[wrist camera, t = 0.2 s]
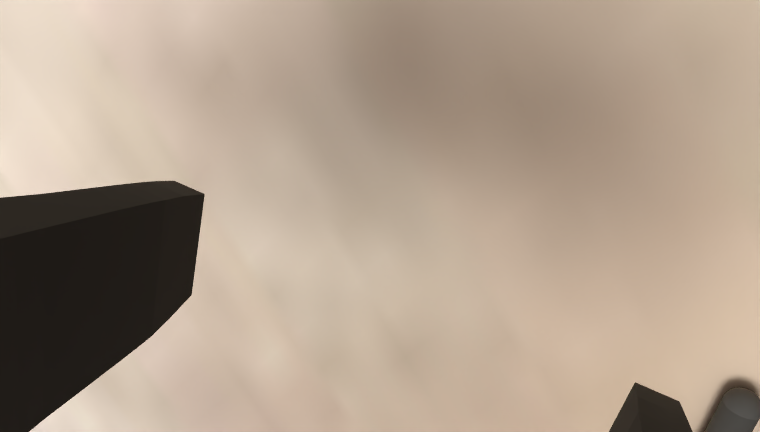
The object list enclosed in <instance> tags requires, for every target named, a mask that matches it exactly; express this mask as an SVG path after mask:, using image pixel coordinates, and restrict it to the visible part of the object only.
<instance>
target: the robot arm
mask: <svg viewBox="0 0 760 432" xmlns="http://www.w3.org/2000/svg"><path fill="white" fill-rule="evenodd" d="M203 202H204V194H203V193H201V192H199V191H196V190H194V189H192V188H189V187H187V186H185V185H182V184H180V183H178V182H176V181H154V182H141V183H131V184H122V185H113V186H105V187H96V188H88V189H80V190H71V191H63V192H55V193H46V194H37V195H26V196H15V197H4V198H0V432H29V431H30V430H32V429H33V428H34V427H35V426H36V425H38V424H39V423H40V422H41V421H42V420H44V419H45V418H46V417H48V416H49V415H50V414H51V413H53V412H54V411H55V410H57V409H58V408H59V407H61V406H62V405H63V404H65V403H66V402H67V401H68V400H70V399H71V398H72V397H74V396H75V395H76V394H78V393H79V392H80V391H82V390H83V389H84V388H85V387H87V386H88V385H89V384H91V383H92V382H93V381H95V380H96V379H97V378H99V377H100V376H101V375H102V374H104V373H105V372H106V371H108V370H109V369H110V368H112V367H113V366H114V365H115V364H117V363H118V362H119V361H121V360H122V359H123V358H124V357H126V356H127V355H128V354H130V353H131V352H132V351H133V350H135V349H136V348H137V347H139V346H140V345H141V344H142V343H144V342H145V341H146V340H147V339H148V338H150V337H151V336H152V335H153V334H154V333H155V332H156V331H157V330H158V329H159V328H160V327H161V326H162V325H163V324H164V323H165V322H166V321H167V320H168V319H169V318H170V317H171V316H172V315H173V314H174V313H175V312H176V311H177V310H178V309H179V308H180V307H181V306H182V304H183V303H184V302H185V301H186V300H187V299H188V298H189V297H190V296H191V295H192V287H193V279H194V272H195V264H196V256H197V249H198V241H199V233H200V225H201V218H202V210H203ZM609 432H692V429H691V427H690V425H689V422H688V420H687V418H686V416H685V413H684V411H683V409H682V406H681V404H680V402H679V401H677V400H674V399H672V398H670V397H668V396H665V395H663V394H661V393H658V392H656V391H654V390H652V389H649V388H647V387H645V386H642V385H640V384H638V383H636V382H635V384H634V386H633V387H632V389H631V391H630V393H629V395H628V397H627V399H626V401H625V402H624V404H623V406H622V408H621V410H620V412H619V414H618V416H617V418H616V419H615V421H614V423H613V425H612V427H611V429H610V431H609Z"/></svg>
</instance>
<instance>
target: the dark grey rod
mask: <svg viewBox="0 0 760 432" xmlns="http://www.w3.org/2000/svg"><path fill="white" fill-rule="evenodd" d="M759 419H760V399H759V397H758V396H757V395H756V394H755V393H754V392H752V391H751V390H749V389H746V388H733V389H731V390H729V391H727V392H726V393H725V394H724V396H723V397H722V399H721V401H720V403H719V405H718V407H717V409H716V411H715V413H714V415H713V417H712V418H711V420H710V422H709V424H708V426H707V428H706V430H705V432H752V431H753V429H754V427H755V426H756V424H757V422H758V420H759Z"/></svg>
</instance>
